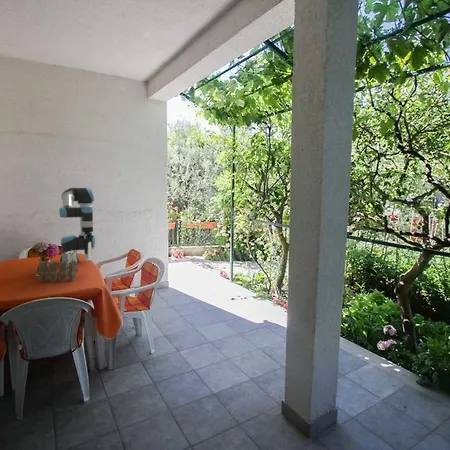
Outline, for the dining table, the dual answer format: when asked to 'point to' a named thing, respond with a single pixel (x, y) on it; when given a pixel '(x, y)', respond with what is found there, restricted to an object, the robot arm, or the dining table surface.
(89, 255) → the tile
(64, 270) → the grey brown jagged slab
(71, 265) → the tile
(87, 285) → the dining table surface
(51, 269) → the tile
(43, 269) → the tile
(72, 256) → the candy bar box
